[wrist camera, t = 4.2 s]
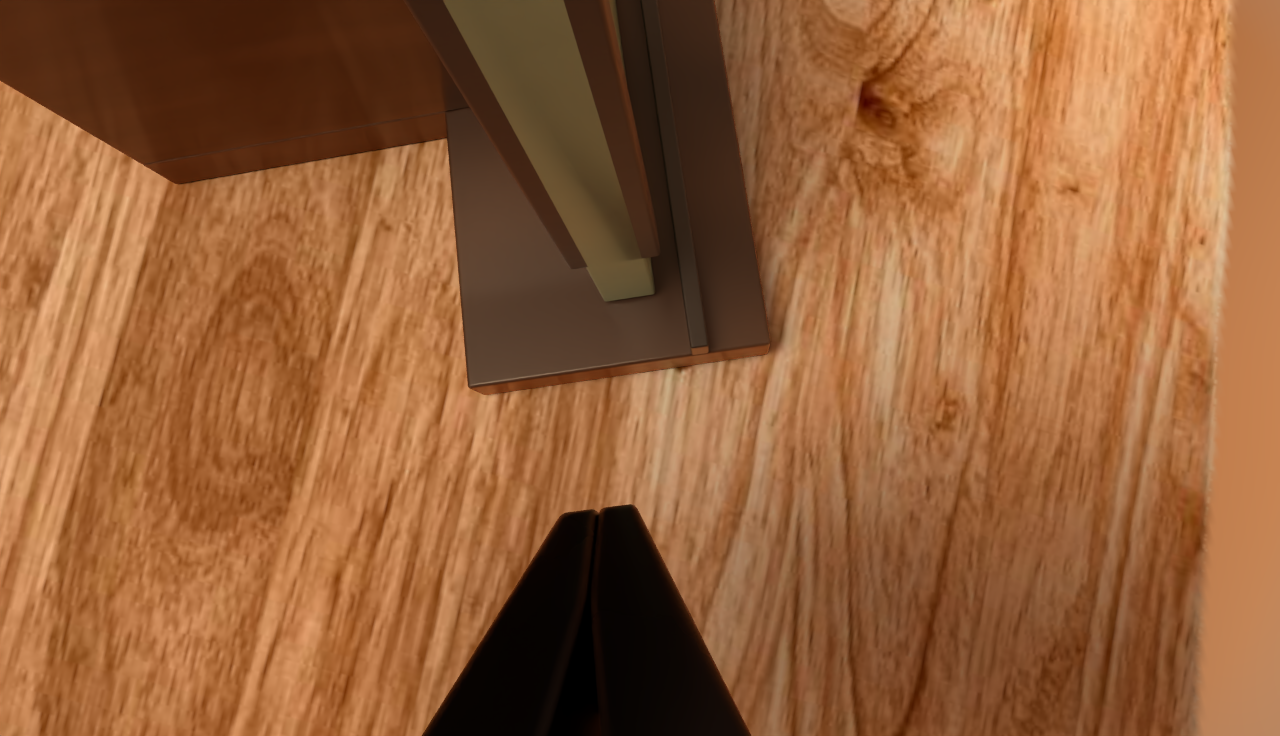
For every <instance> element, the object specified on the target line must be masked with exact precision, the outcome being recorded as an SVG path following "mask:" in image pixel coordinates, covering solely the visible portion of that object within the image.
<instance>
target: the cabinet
mask: <svg viewBox="0 0 1280 736" xmlns="http://www.w3.org/2000/svg"><path fill="white" fill-rule="evenodd" d="M616 7H617V14H618V21H619V29H620V36H621V43H622V51H623V58H624V65H625V72H626V80H627V87H628V92H629V97H630V102H631V106H632V111H633V116H634V120H635V125H636V130H637V134H638V139H639V144H640V148H641V153H642V158H643V162H644V167H645V172H646V176H647V181H648V186H649V190H650V195H651V200H652V205H653V209H654V214H655V219H656V225H657V232H658V239H659V246H660V255H658V256H655V257H651V262H652V269H653V277H654V284H655V294H653V295H646V296H639V297H633V298H626V299H620V300H613V301H604V299H603V297H602V296H601V294H600V292H599V290H598V288H597V286H596V285H595V283H594V281H593V279H592V277H591V276H590V274H589V272H588V270H587V268H586V267H585V268H579V269H570V267H569V265H568V264H567V262H566V261H565V259H564V257H563V256H562V254H561V253H560V251H559V249H558V248H557V246H556V245H555V243H554V241H553V240H552V238H551V237H550V235H549V233H548V232H547V230H546V229H545V227H544V225H543V224H542V222H541V221H540V219H539V217H538V216H537V214H536V213H535V211H534V209H533V208H532V206H531V204H530V203H529V201H528V200H527V198H526V196H525V195H524V193H523V192H522V190H521V188H520V187H519V185H518V184H517V182H516V180H515V179H514V177H513V176H512V174H511V172H510V171H509V169H508V168H507V166H506V164H505V163H504V161H503V160H502V158H501V156H500V155H499V153H498V152H497V150H496V148H495V147H494V145H493V144H492V142H491V140H490V139H489V137H488V135H487V134H486V132H485V131H484V129H483V127H482V126H481V124H480V123H479V121H478V119H477V118H476V116H475V115H474V113H473V111H472V110H471V108H470V107H469V105H468V103H467V102H466V100H465V99H464V97H463V95H462V94H461V92H460V91H459V89H458V87H457V86H456V84H455V83H454V81H453V79H452V78H451V76H450V74H449V73H448V71H447V70H446V68H445V66H444V65H443V63H442V62H441V60H440V58H439V57H438V55H437V54H436V52H435V50H434V49H433V47H432V46H431V44H430V42H429V41H428V39H427V38H426V36H425V34H424V33H423V31H422V30H421V28H420V26H419V25H418V23H417V22H416V20H415V18H414V17H413V15H412V13H411V12H410V10H409V9H408V7H407V5H406V4H405V2H404V1H403V0H0V81H2V82H3V83H5V84H7V85H9V86H10V87H12V88H14V89H15V90H17V91H19V92H20V93H22V94H24V95H25V96H27V97H29V98H31V99H32V100H34V101H36V102H37V103H39V104H41V105H42V106H44V107H46V108H48V109H49V110H51V111H53V112H54V113H56V114H58V115H59V116H61V117H63V118H65V119H66V120H68V121H70V122H71V123H73V124H75V125H76V126H78V127H80V128H81V129H83V130H85V131H87V132H88V133H90V134H92V135H93V136H95V137H97V138H98V139H100V140H102V141H104V142H105V143H107V144H109V145H110V146H112V147H114V148H115V149H117V150H119V151H121V152H122V153H124V154H126V155H127V156H129V157H131V158H132V159H134V160H136V161H138V162H139V163H141V164H143V165H144V166H146V167H148V168H149V169H151V170H153V171H154V172H156V173H158V174H160V175H161V176H163V177H165V178H166V179H168V180H170V181H171V182H173V183H175V184H180V183H185V182H191V181H197V180H203V179H208V178H214V177H220V176H226V175H232V174H237V173H243V172H249V171H255V170H261V169H266V168H272V167H278V166H284V165H289V164H295V163H301V162H307V161H313V160H318V159H324V158H330V157H336V156H342V155H347V154H353V153H359V152H365V151H370V150H376V149H382V148H388V147H394V146H399V145H405V144H411V143H417V142H422V141H428V140H434V139H440V138H446V137H447V142H448V153H449V165H450V177H451V189H452V201H453V213H454V225H455V237H456V249H457V261H458V273H459V284H460V296H461V308H462V320H463V332H464V344H465V356H466V368H467V380H468V387H469V388H470V389H473V390H475V391H477V392H479V393H481V394H484V395H489V394H496V393H503V392H510V391H517V390H523V389H530V388H537V387H544V386H551V385H558V384H565V383H572V382H579V381H586V380H593V379H599V378H606V377H613V376H620V375H627V374H634V373H641V372H648V371H655V370H662V369H669V368H675V367H682V366H689V365H696V364H703V363H710V362H717V361H724V360H731V359H738V358H744V357H751V356H758V355H765V354H767V352H768V349H769V347H770V344H771V338H770V332H769V326H768V320H767V314H766V308H765V302H764V296H763V290H762V284H761V278H760V272H759V266H758V260H757V254H756V248H755V242H754V236H753V230H752V224H751V218H750V212H749V206H748V200H747V194H746V188H745V182H744V176H743V170H742V164H741V158H740V152H739V146H738V140H737V134H736V128H735V122H734V116H733V110H732V104H731V98H730V92H729V86H728V80H727V74H726V67H725V61H724V55H723V49H722V43H721V37H720V31H719V25H718V19H717V13H716V7H715V1H714V0H616Z"/></svg>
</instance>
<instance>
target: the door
mask: <svg viewBox="0 0 1280 736" xmlns="http://www.w3.org/2000/svg"><path fill="white" fill-rule="evenodd" d="M403 1H404V2H405V4H406V5H407V7H408V9H409V10H410V12H411V13H412V15H413V17H414V18H415V20H416V22H417V23H418V25H419V26H420V28H421V30H422V31H423V33H424V34H425V36H426V38H427V39H428V41H429V42H430V44H431V46H432V47H433V49H434V50H435V52H436V54H437V55H438V57H439V58H440V60H441V62H442V63H443V65H444V66H445V68H446V70H447V71H448V73H449V74H450V76H451V78H452V79H453V81H454V83H455V84H456V86H457V87H458V89H459V91H460V92H461V94H462V95H463V97H464V99H465V100H466V102H467V103H468V105H469V107H470V108H471V110H472V111H473V113H474V115H475V116H476V118H477V119H478V121H479V123H480V124H481V126H482V127H483V129H484V131H485V132H486V134H487V135H488V137H489V139H490V140H491V142H492V144H493V145H494V147H495V148H496V150H497V152H498V153H499V155H500V156H501V158H502V160H503V161H504V163H505V164H506V166H507V168H508V169H509V171H510V172H511V174H512V176H513V177H514V179H515V180H516V182H517V184H518V185H519V187H520V188H521V190H522V192H523V193H524V195H525V196H526V198H527V200H528V201H529V203H530V204H531V206H532V208H533V209H534V211H535V213H536V214H537V216H538V217H539V219H540V221H541V222H542V224H543V225H544V227H545V229H546V230H547V232H548V233H549V235H550V237H551V238H552V240H553V241H554V243H555V245H556V246H557V248H558V249H559V251H560V253H561V254H562V256H563V257H564V259H565V261H566V262H567V264H568V265H569V267H570V269H579V268H585V267H586V268H587V270H588V272H589V274H590V276H591V277H592V279H593V281H594V283H595V285H596V286H597V288H598V290H599V292H600V294H601V296H602V297H603V299H604V301H613V300H620V299H626V298H633V297H639V296H646V295H653V294H655V284H654V277H653V269H652V262H651V257H655V256H658V255H660V246H659V239H658V232H657V225H656V219H655V214H654V209H653V205H652V200H651V195H650V190H649V186H648V181H647V176H646V172H645V167H644V162H643V158H642V153H641V148H640V144H639V139H638V134H637V130H636V125H635V120H634V116H633V111H632V106H631V102H630V97H629V92H628V87H627V80H626V72H625V65H624V58H623V51H622V43H621V36H620V29H619V21H618V14H617V7H616V0H403Z"/></svg>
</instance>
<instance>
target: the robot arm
mask: <svg viewBox="0 0 1280 736" xmlns="http://www.w3.org/2000/svg"><path fill="white" fill-rule="evenodd" d="M422 736H751V734H750V732H749V730H748V728H747V726H746V724H745V722H744V720H743V718H742V716H741V714H740V712H739V710H738V708H737V706H736V704H735V702H734V700H733V698H732V696H731V694H730V692H729V690H728V688H727V686H726V684H725V682H724V680H723V678H722V676H721V674H720V673H719V671H718V669H717V667H716V665H715V663H714V661H713V659H712V657H711V655H710V653H709V651H708V649H707V647H706V645H705V643H704V641H703V639H702V637H701V635H700V633H699V631H698V629H697V627H696V625H695V623H694V621H693V619H692V617H691V615H690V613H689V611H688V609H687V607H686V605H685V603H684V601H683V599H682V597H681V595H680V593H679V591H678V589H677V587H676V585H675V583H674V581H673V579H672V577H671V575H670V573H669V571H668V569H667V567H666V565H665V563H664V561H663V559H662V557H661V555H660V553H659V551H658V549H657V547H656V545H655V543H654V541H653V539H652V537H651V535H650V533H649V531H648V529H647V527H646V525H645V523H644V521H643V519H642V517H641V515H640V513H639V511H638V509H637V508H636V507H635V506H634V505H632V504H629V505H621V506H613V507H606V508H603V509H601V510H600V512H599V513H598V512H597V511H595V510H593V509H591V510H583V511H576V512H568V513H564V514H563V515H561V516H560V517H559V518H558V520H557V521H556V523H555V525H554V526H553V528H552V529H551V531H550V533H549V534H548V536H547V537H546V539H545V540H544V542H543V544H542V545H541V547H540V548H539V550H538V552H537V553H536V555H535V556H534V558H533V560H532V561H531V563H530V564H529V566H528V568H527V569H526V571H525V572H524V574H523V575H522V577H521V579H520V580H519V582H518V583H517V585H516V587H515V588H514V590H513V591H512V593H511V595H510V596H509V598H508V599H507V601H506V603H505V604H504V606H503V607H502V609H501V611H500V612H499V614H498V615H497V617H496V618H495V620H494V622H493V623H492V625H491V626H490V628H489V630H488V631H487V633H486V634H485V636H484V638H483V639H482V641H481V642H480V644H479V646H478V647H477V649H476V650H475V652H474V654H473V655H472V657H471V658H470V660H469V661H468V663H467V665H466V666H465V668H464V669H463V671H462V673H461V674H460V676H459V677H458V679H457V681H456V682H455V684H454V685H453V687H452V689H451V690H450V692H449V693H448V695H447V696H446V698H445V700H444V701H443V703H442V704H441V706H440V708H439V709H438V711H437V712H436V714H435V716H434V717H433V719H432V720H431V722H430V724H429V725H428V727H427V728H426V730H425V732H424V733H423V735H422Z"/></svg>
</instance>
